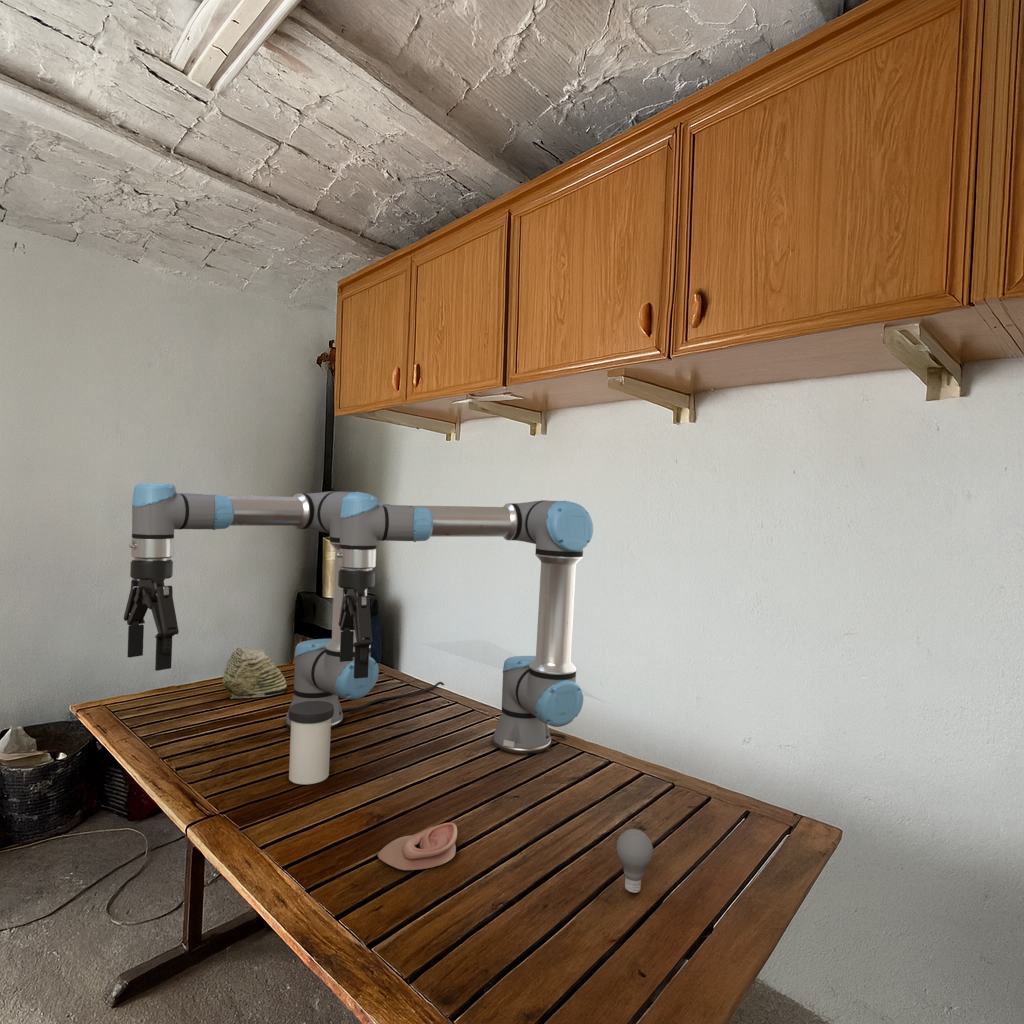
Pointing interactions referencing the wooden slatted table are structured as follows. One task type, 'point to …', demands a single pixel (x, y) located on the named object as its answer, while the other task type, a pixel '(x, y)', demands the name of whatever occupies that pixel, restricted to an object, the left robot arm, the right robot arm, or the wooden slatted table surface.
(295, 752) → the jar
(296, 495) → the left robot arm
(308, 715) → the lid
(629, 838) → the light bulb
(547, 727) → the right robot arm
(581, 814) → the wooden slatted table surface
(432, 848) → the anatomical model
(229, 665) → the fossil
